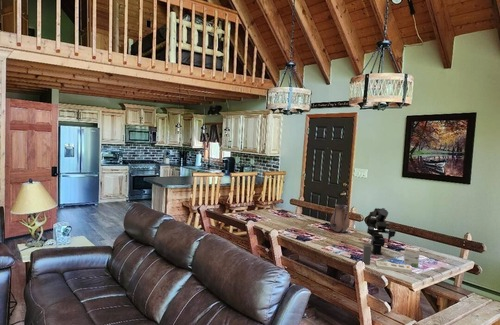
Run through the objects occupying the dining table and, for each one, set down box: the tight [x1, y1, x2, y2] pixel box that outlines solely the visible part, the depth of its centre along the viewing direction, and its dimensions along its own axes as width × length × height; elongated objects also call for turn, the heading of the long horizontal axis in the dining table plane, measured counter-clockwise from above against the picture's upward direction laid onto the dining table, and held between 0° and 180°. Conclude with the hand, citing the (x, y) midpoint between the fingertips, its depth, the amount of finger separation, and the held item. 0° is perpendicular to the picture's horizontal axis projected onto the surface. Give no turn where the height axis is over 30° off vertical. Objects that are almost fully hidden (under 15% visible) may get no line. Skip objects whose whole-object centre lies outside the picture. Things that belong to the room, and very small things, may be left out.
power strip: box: [374, 260, 413, 274], centre depth 222 cm, size 21×9×4 cm, turn 76°
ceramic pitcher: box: [329, 203, 350, 233], centre depth 316 cm, size 18×21×25 cm
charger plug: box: [362, 244, 372, 266], centre depth 229 cm, size 4×4×13 cm
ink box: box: [403, 246, 420, 269], centre depth 233 cm, size 9×5×12 cm, turn 47°
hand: (381, 241), depth 239 cm, fingers open, 9 cm apart
